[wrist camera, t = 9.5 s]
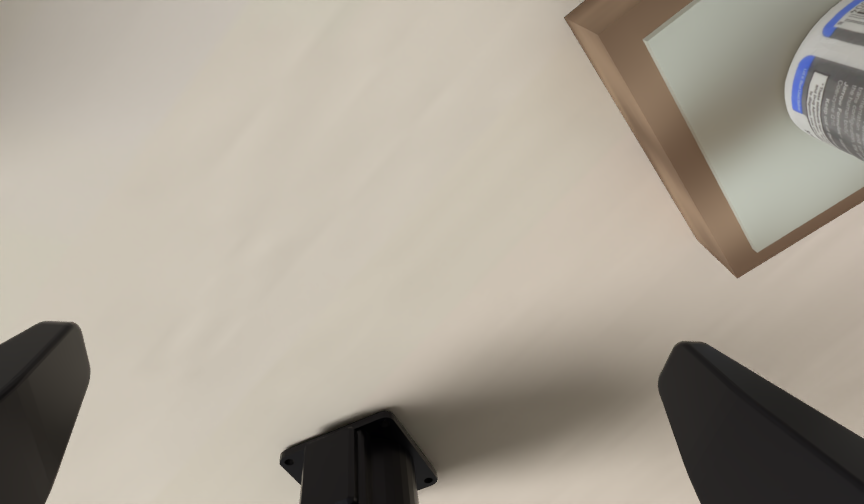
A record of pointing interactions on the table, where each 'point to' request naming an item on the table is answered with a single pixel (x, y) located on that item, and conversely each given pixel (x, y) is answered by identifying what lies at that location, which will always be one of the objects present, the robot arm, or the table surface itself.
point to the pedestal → (722, 116)
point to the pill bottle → (831, 79)
